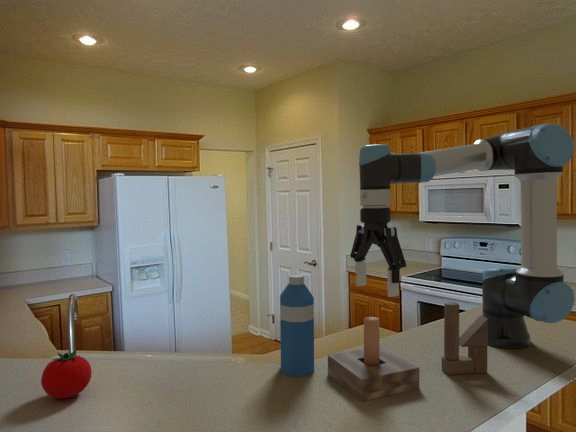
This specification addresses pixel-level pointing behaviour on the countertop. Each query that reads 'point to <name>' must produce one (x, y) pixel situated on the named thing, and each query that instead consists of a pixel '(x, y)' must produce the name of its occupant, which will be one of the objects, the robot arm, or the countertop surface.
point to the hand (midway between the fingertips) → (376, 290)
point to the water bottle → (297, 328)
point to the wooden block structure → (464, 343)
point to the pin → (371, 341)
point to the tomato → (66, 375)
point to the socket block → (373, 374)
